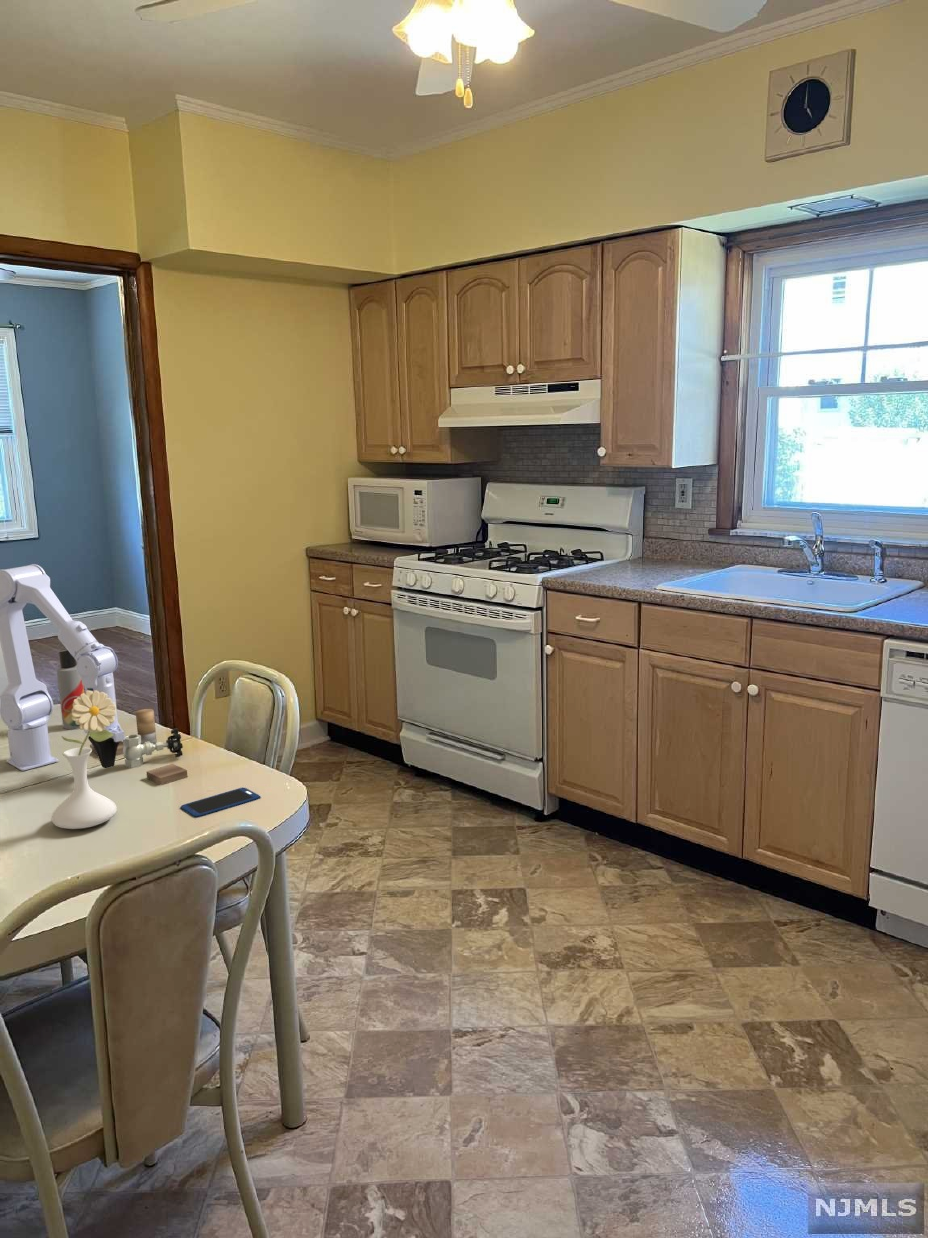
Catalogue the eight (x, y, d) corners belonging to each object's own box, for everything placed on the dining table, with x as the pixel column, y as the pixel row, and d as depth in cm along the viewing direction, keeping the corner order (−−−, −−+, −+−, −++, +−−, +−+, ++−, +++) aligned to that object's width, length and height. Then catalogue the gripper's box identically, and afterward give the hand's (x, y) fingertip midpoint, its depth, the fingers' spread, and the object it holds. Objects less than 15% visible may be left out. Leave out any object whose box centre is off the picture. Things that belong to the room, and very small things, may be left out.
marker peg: (135, 744, 216) (132, 711, 214) (151, 740, 218) (148, 708, 217) (143, 748, 213) (140, 715, 211) (160, 744, 216) (156, 711, 214)
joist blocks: (90, 750, 212) (89, 744, 212) (115, 744, 216) (114, 738, 216) (161, 785, 189) (160, 778, 189) (187, 776, 194) (186, 770, 193)
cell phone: (262, 799, 181) (262, 796, 181) (195, 820, 172) (195, 816, 172) (244, 790, 186) (244, 786, 186) (179, 809, 177) (178, 805, 177)
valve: (127, 771, 198) (184, 760, 204) (124, 742, 197) (181, 732, 203) (121, 763, 204) (176, 752, 210) (118, 734, 202) (173, 724, 208)
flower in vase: (52, 840, 164) (35, 704, 159) (52, 817, 175) (36, 689, 170) (129, 826, 169) (115, 694, 165) (125, 804, 180) (112, 680, 175)
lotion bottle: (81, 729, 228) (73, 650, 225) (59, 730, 229) (50, 651, 225) (91, 722, 234) (82, 645, 230) (69, 723, 234) (60, 646, 230)
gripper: (68, 703, 197) (75, 764, 199) (98, 716, 187) (105, 779, 189) (100, 696, 202) (106, 755, 204) (131, 708, 192) (137, 770, 194)
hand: (108, 766), depth 197 cm, fingers closed
